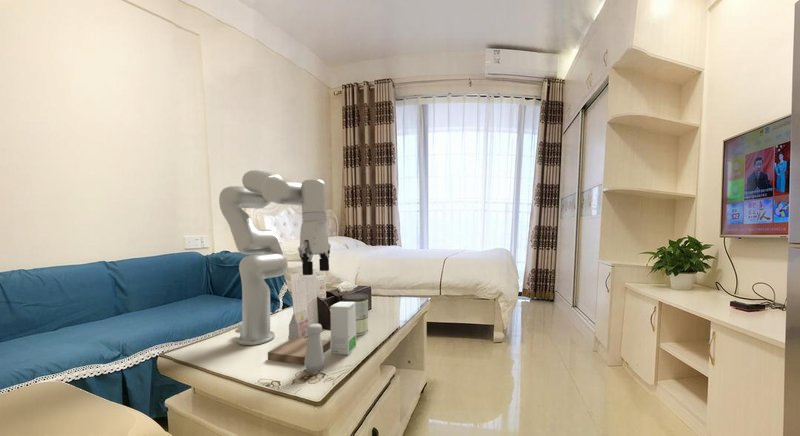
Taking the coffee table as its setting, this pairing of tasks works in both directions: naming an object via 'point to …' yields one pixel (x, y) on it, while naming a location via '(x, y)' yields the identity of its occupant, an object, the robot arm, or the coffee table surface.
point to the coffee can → (359, 311)
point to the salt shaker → (314, 349)
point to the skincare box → (343, 328)
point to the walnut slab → (293, 351)
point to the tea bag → (298, 325)
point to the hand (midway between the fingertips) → (316, 272)
